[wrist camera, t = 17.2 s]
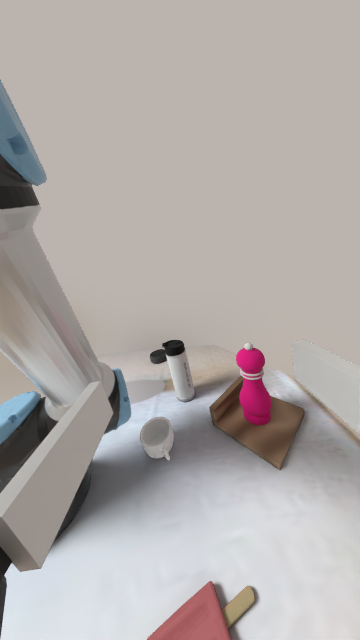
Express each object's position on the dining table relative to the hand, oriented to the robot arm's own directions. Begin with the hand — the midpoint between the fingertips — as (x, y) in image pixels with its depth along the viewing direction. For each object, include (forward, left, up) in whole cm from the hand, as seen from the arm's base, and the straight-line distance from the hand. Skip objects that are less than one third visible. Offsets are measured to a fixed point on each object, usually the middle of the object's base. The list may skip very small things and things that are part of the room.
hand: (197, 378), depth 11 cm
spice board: (-10, +25, -32) cm, 42 cm away
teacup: (-23, +4, -32) cm, 40 cm away
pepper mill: (-10, +25, -31) cm, 41 cm away
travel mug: (-32, +20, -32) cm, 50 cm away
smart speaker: (-63, +30, -32) cm, 77 cm away
